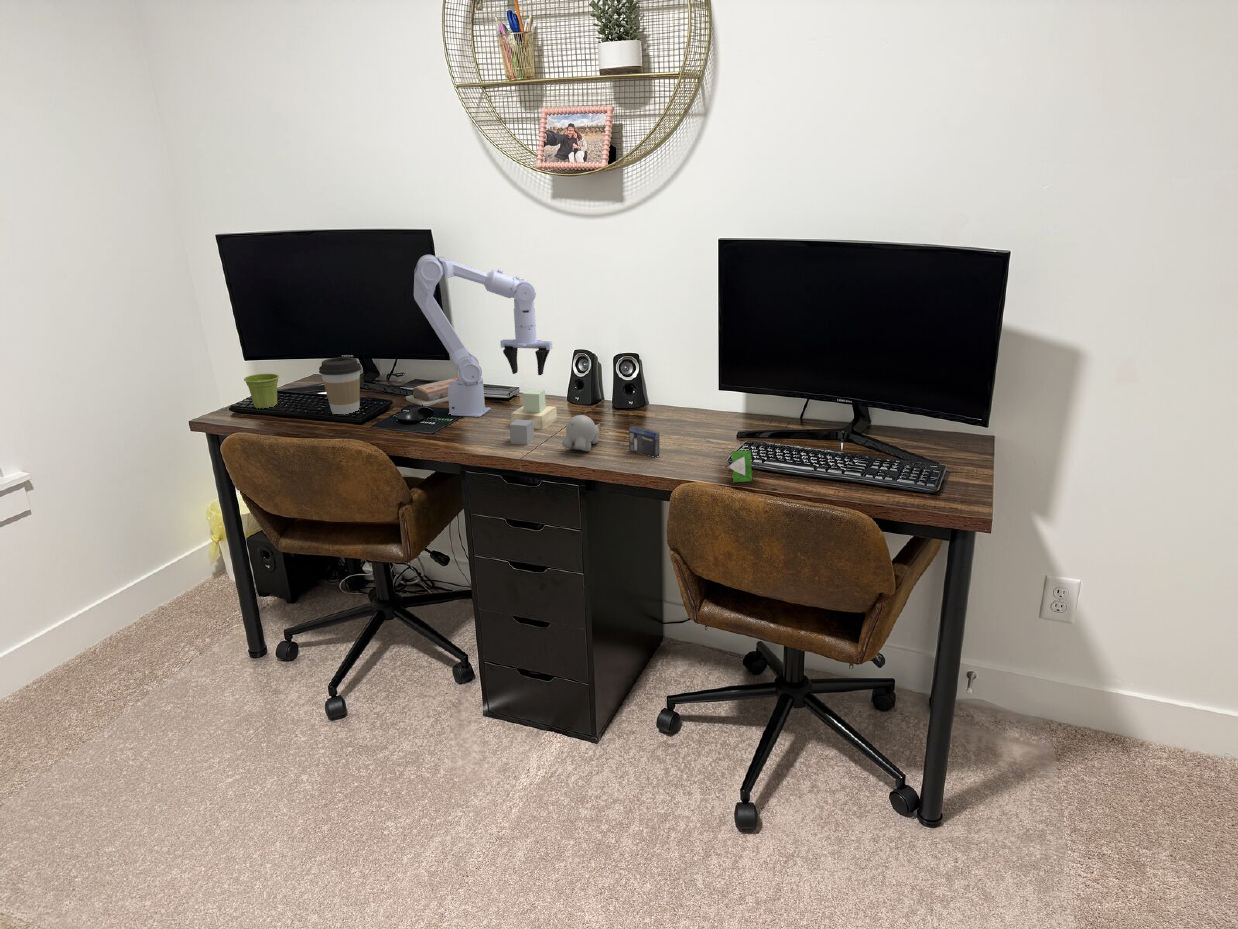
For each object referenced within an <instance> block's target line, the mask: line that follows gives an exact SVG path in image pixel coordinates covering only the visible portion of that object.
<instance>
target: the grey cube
mask: <svg viewBox="0 0 1238 929" xmlns="http://www.w3.org/2000/svg"><path fill="white" fill-rule="evenodd" d="M509 437H510V438H509V439H510V444H512V445H514V444H515V445H526V446H528V445H529V444H531V442H532V441H534V440H535V430H534V427H533V420H519V419H516V420H515V421H514V422H512V421H511V423H510V424H509Z"/></svg>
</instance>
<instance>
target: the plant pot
mask: <svg viewBox="0 0 1238 929" xmlns="http://www.w3.org/2000/svg"><path fill="white" fill-rule="evenodd" d="M279 378H280V375H279V374H277V373H257V374H252V375H248V376H246V377H244V378H243V381H244V382H245V384H246V386H247V388H248V390H249V394H250V396H251V399H252V404H253V405H254V408H255V407H256V409H258V408H259V409H264V408H268V409H270V408H269V407H273V408H275V407H276V406H277V405H278V382H279ZM276 404H277V405H276ZM275 405H276V406H275ZM274 406H275V407H274Z"/></svg>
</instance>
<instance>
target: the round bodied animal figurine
mask: <svg viewBox="0 0 1238 929" xmlns="http://www.w3.org/2000/svg"><path fill="white" fill-rule="evenodd" d="M600 427H601V423H597V424H595V422H594V420H593V419H592V418H590V417H589V416H587V415H585V414H578V415H575V416H574V415H573V417H571V418H570V419H569V420H568V422H567V423H566V427H565V434H566V435H565V437H564V438H563V440H562V442H561V443H562V444H561V445H562V446H563V447H564V448H568V449H571V450H581V451H583V452H591V449H592V444H593V445H594V444H596V443H598V442H599V439H600V438H599V436H600Z"/></svg>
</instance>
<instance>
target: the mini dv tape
mask: <svg viewBox="0 0 1238 929" xmlns="http://www.w3.org/2000/svg"><path fill="white" fill-rule="evenodd" d="M629 450H630V451H629ZM628 451H629V452H632V451H634V452H633V453H636V452H639V453H642V454H641V455H643V454H645V455H644V456H646V455H650V456H654V457H656V458H658V457H657V456H659V455H660V432H659V431H655V430H650V429H647V428H643V427H639V426H637V425H636V426H635V425H631V426H629V430H628ZM639 453H638V454H639ZM650 456H649V457H650ZM654 457H653V458H654ZM659 457H660V456H659Z"/></svg>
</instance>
